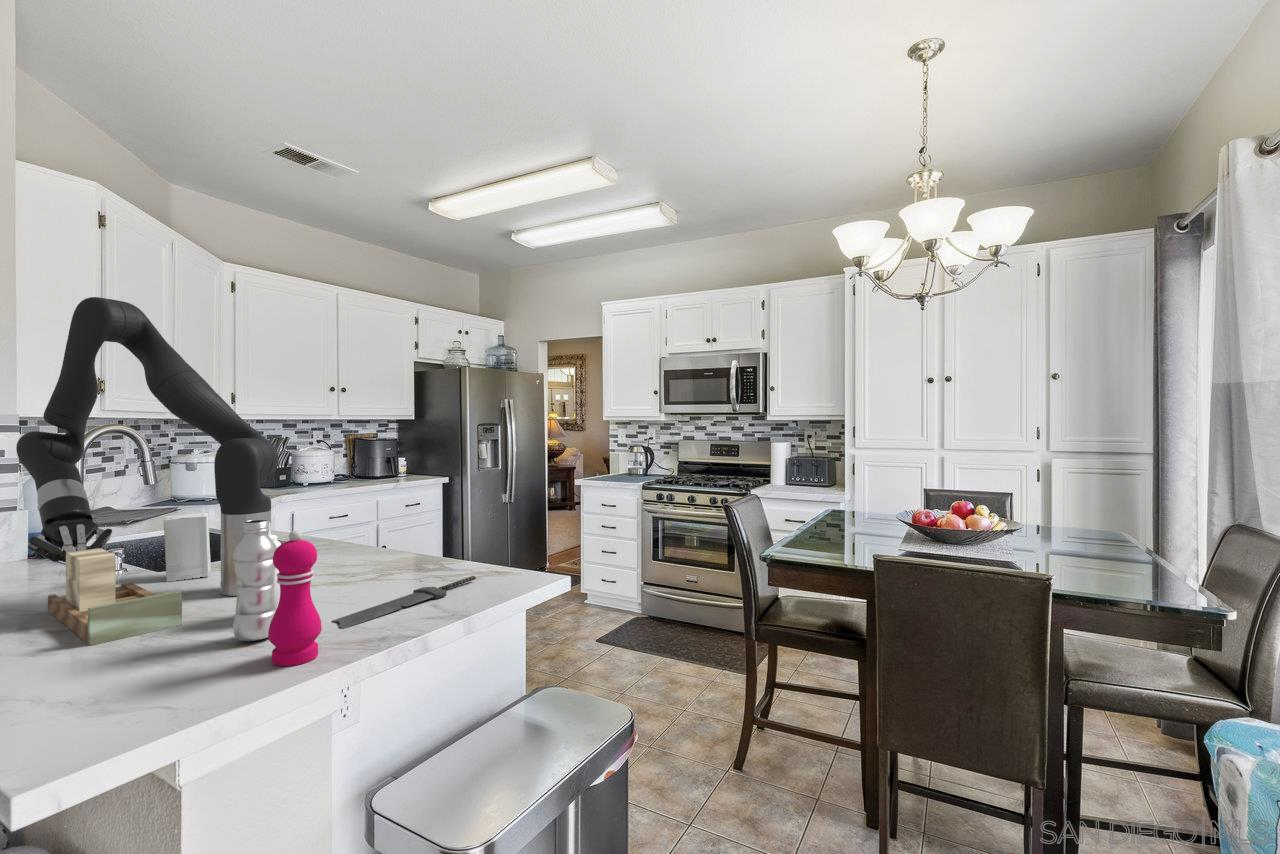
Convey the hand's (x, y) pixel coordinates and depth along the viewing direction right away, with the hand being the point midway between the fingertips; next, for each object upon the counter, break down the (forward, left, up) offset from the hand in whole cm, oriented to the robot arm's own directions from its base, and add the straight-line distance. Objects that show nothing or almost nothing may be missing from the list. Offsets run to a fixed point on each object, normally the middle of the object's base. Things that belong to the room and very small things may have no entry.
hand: (79, 573), depth 117 cm
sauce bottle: (-39, +11, -7) cm, 41 cm away
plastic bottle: (-42, +23, -7) cm, 48 cm away
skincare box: (-7, -23, -7) cm, 25 cm away
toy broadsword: (-63, +4, -8) cm, 64 cm away
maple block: (-6, +6, -4) cm, 9 cm away
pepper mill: (-52, +33, -7) cm, 62 cm away
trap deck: (-10, +7, -7) cm, 14 cm away
